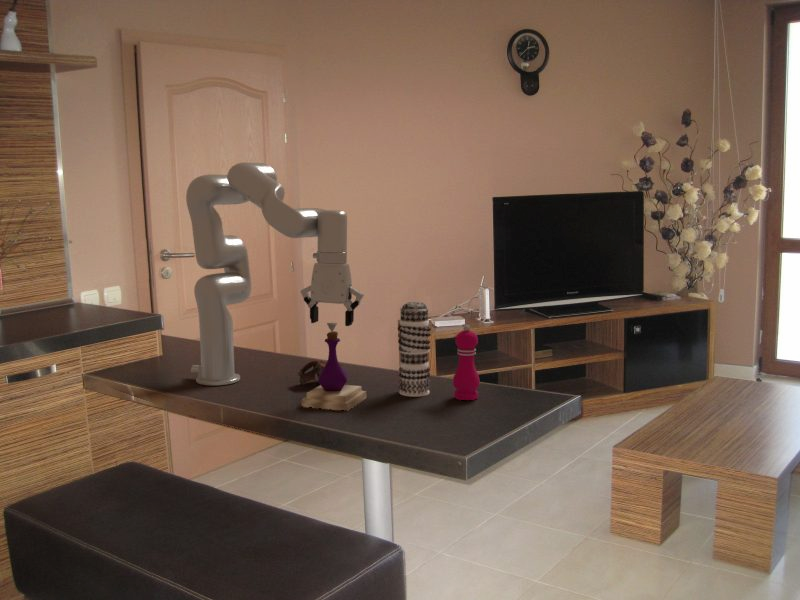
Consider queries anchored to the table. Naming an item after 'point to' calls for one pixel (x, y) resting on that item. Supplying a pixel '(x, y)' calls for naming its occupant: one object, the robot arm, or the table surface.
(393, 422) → the table surface
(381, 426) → the table surface
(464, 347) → the pepper mill
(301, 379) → the pottery mug
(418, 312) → the decorative candle
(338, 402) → the plinth
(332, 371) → the perfume bottle
